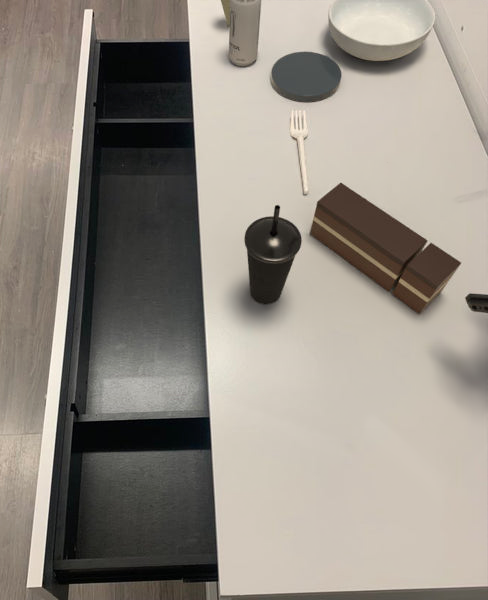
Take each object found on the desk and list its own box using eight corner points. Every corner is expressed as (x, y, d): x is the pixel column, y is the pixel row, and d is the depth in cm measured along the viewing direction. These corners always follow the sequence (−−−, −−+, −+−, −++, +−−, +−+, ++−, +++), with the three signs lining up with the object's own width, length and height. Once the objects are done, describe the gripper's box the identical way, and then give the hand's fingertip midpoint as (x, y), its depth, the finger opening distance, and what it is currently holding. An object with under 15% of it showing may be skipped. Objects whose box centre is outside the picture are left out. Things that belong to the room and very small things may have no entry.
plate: (333, 55, 112) (334, 49, 110) (346, 99, 104) (347, 93, 103) (267, 60, 112) (267, 53, 111) (275, 104, 105) (276, 98, 103)
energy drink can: (225, 53, 114) (226, -18, 101) (251, 47, 114) (256, -25, 101) (233, 70, 111) (235, -1, 98) (261, 64, 111) (266, -8, 98)
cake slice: (413, 272, 83) (431, 242, 76) (441, 292, 81) (461, 262, 74) (391, 294, 82) (407, 264, 75) (419, 314, 80) (438, 286, 73)
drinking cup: (249, 265, 86) (257, 178, 68) (295, 278, 84) (315, 192, 67) (234, 303, 82) (238, 221, 65) (282, 318, 80) (299, 238, 63)
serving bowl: (322, 14, 119) (327, -17, 113) (418, 16, 117) (429, -16, 111) (324, 73, 109) (330, 42, 103) (429, 76, 107) (442, 45, 101)
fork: (296, 195, 93) (297, 188, 91) (288, 117, 103) (289, 109, 101) (315, 195, 92) (316, 187, 91) (305, 117, 103) (307, 109, 101)
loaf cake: (331, 215, 90) (340, 182, 83) (410, 271, 84) (428, 240, 77) (309, 233, 88) (317, 201, 81) (388, 292, 82) (404, 262, 75)
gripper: (610, 360, 54) (465, 337, 68) (673, 278, 58) (524, 273, 73) (591, 301, 52) (445, 291, 66) (658, 220, 56) (507, 227, 70)
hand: (487, 281), depth 69 cm, fingers open, 8 cm apart
